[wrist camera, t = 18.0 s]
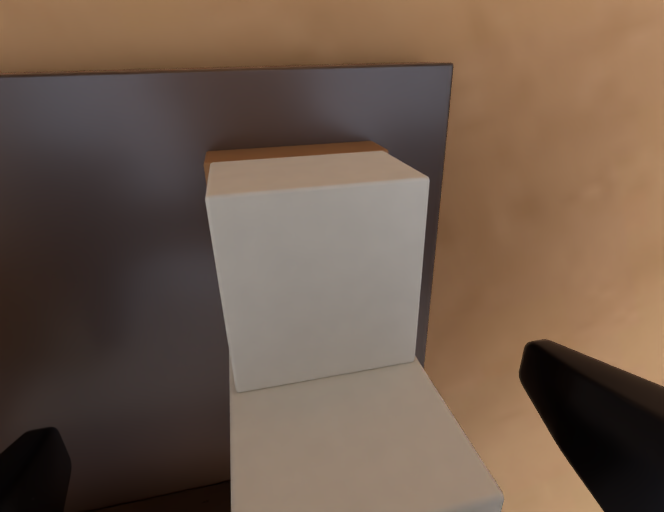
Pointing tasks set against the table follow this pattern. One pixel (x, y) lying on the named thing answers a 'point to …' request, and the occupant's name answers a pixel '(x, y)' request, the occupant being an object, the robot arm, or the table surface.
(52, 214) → the shoe rack
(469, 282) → the table surface
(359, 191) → the white l-shaped block
